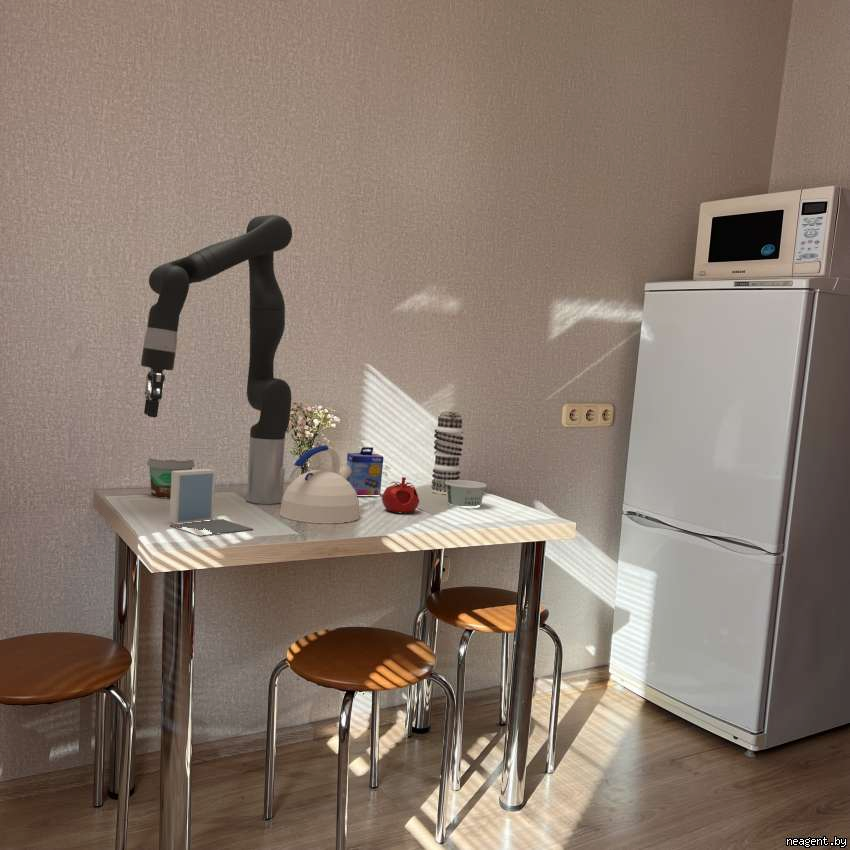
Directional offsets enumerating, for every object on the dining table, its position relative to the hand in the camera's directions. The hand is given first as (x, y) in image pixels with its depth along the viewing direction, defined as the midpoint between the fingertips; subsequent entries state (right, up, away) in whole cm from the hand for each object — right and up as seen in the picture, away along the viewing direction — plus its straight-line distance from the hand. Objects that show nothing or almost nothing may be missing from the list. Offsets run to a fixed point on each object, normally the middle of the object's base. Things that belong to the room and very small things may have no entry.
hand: (150, 415), depth 211 cm
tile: (+11, -25, -6) cm, 28 cm away
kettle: (+39, -26, +12) cm, 48 cm away
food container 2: (+77, -26, +42) cm, 91 cm away
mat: (+18, -26, -12) cm, 33 cm away
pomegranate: (+59, -26, +26) cm, 69 cm away
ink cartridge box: (+48, -23, +46) cm, 70 cm away
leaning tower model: (+72, -23, +62) cm, 98 cm away
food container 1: (-2, -21, +22) cm, 31 cm away
